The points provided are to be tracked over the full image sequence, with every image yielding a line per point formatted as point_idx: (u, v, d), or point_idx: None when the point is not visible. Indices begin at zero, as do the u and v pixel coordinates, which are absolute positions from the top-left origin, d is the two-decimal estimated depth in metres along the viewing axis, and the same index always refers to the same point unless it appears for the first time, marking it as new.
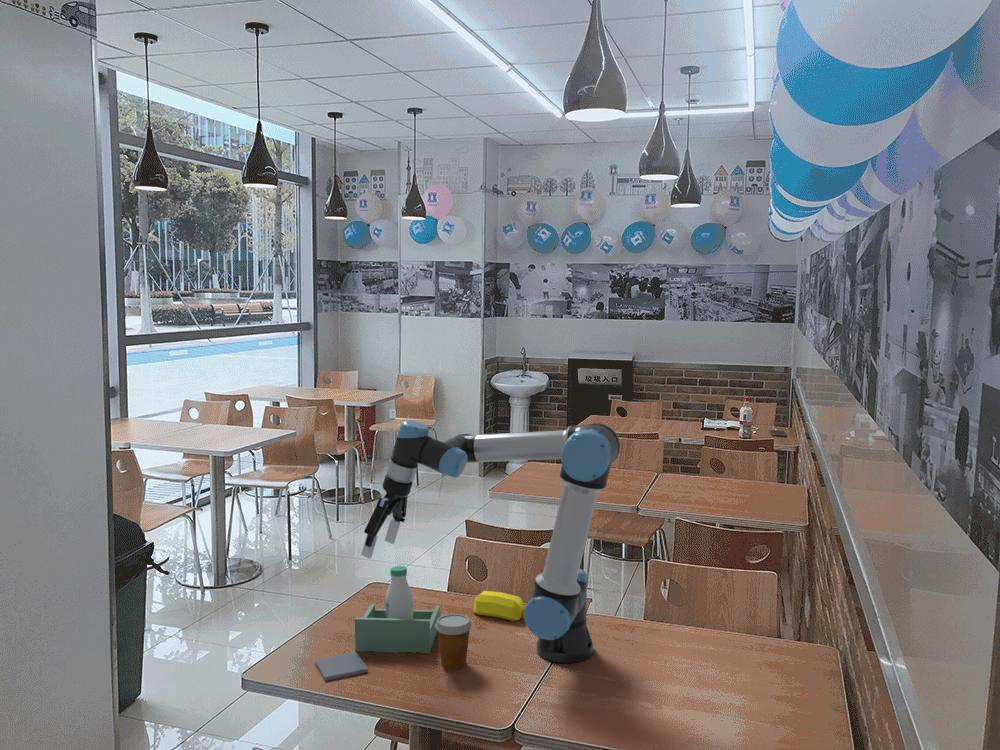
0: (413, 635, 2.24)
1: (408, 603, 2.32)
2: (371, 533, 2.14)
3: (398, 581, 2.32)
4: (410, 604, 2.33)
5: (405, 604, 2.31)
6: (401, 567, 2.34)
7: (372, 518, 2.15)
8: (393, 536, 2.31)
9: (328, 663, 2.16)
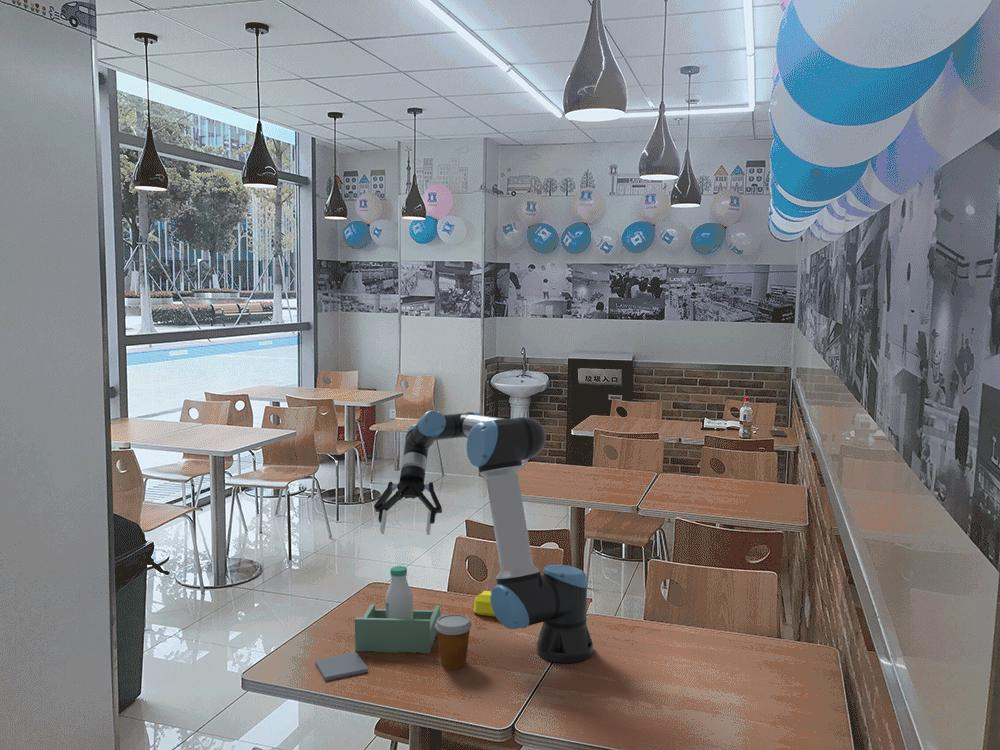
0: (413, 635, 2.24)
1: (408, 603, 2.32)
2: None
3: (398, 581, 2.32)
4: (410, 604, 2.33)
5: (405, 604, 2.31)
6: (401, 567, 2.34)
7: None
8: None
9: (328, 663, 2.16)
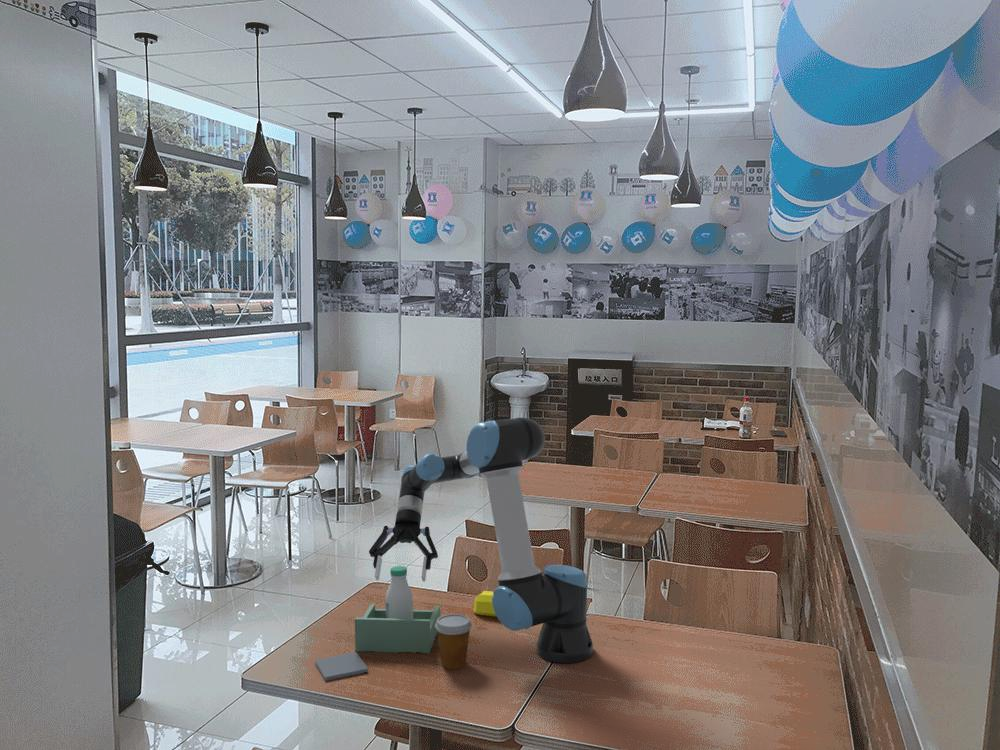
0: (413, 635, 2.24)
1: (408, 603, 2.32)
2: None
3: (398, 581, 2.32)
4: (410, 604, 2.33)
5: (405, 604, 2.31)
6: (401, 567, 2.34)
7: None
8: None
9: (328, 663, 2.16)
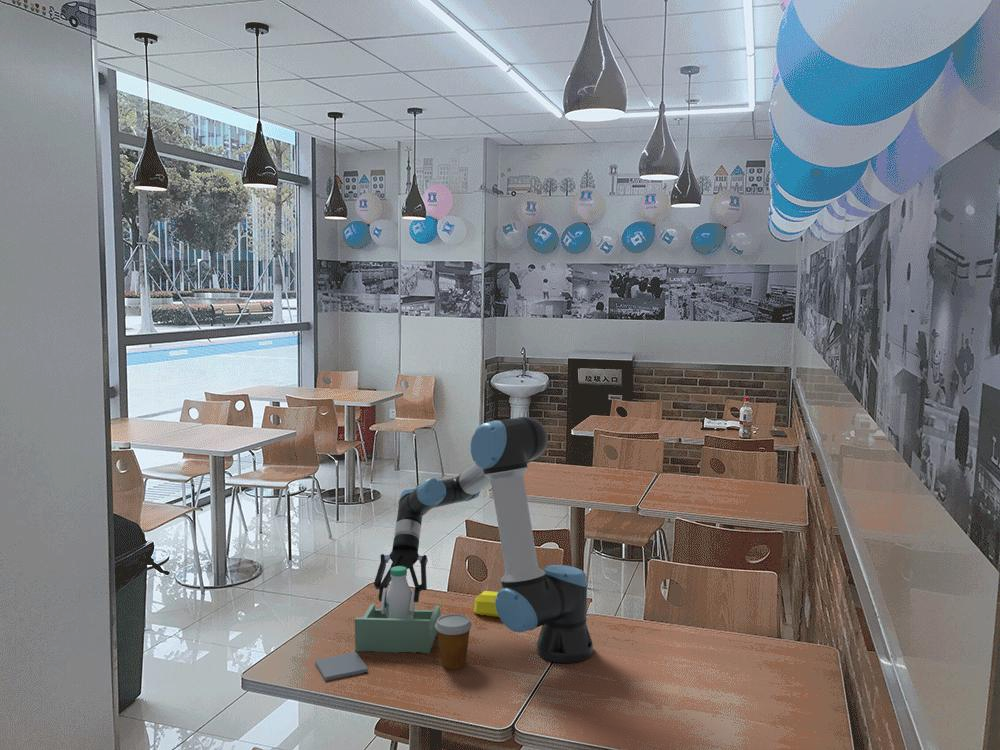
0: (413, 635, 2.24)
1: (408, 602, 2.32)
2: None
3: (398, 581, 2.32)
4: None
5: (405, 604, 2.31)
6: (401, 567, 2.34)
7: None
8: None
9: (328, 663, 2.16)
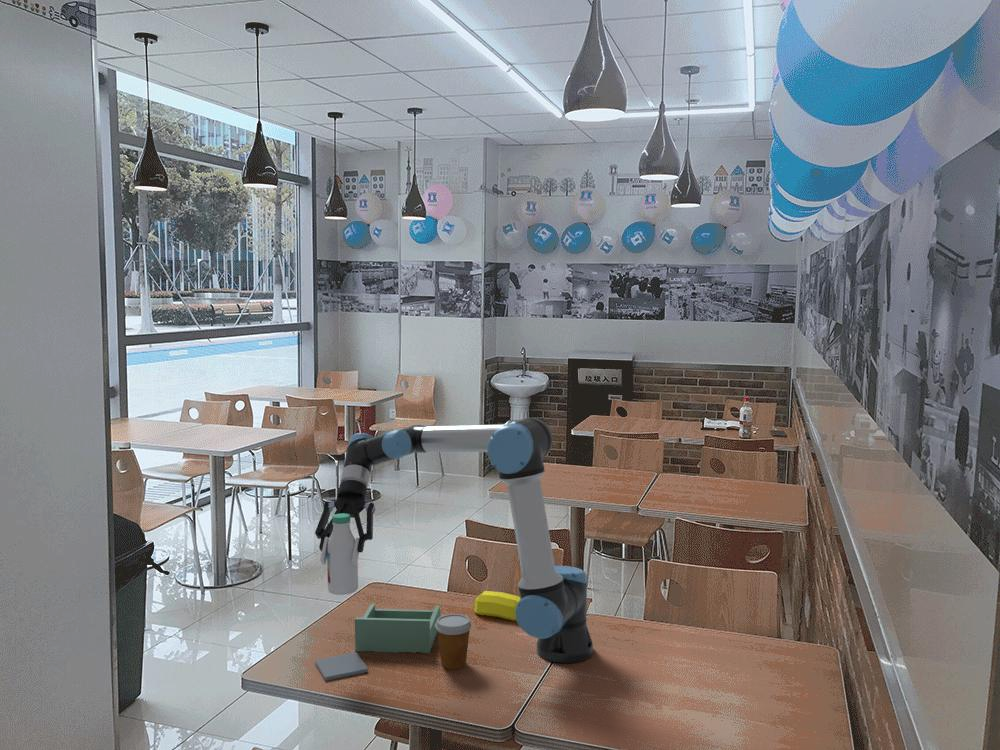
0: (413, 635, 2.24)
1: (351, 552, 2.13)
2: None
3: (340, 529, 2.12)
4: None
5: (348, 553, 2.12)
6: (344, 514, 2.15)
7: None
8: None
9: (328, 663, 2.16)
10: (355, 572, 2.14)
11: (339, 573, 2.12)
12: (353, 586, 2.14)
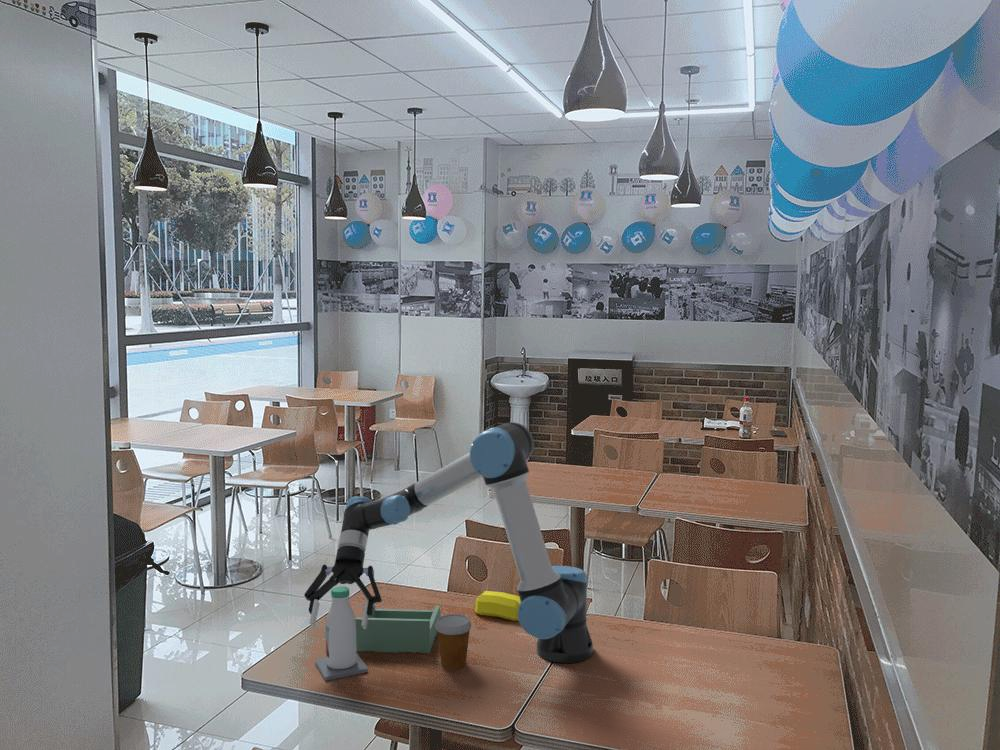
0: (413, 635, 2.24)
1: (350, 627, 2.12)
2: None
3: (339, 603, 2.12)
4: (352, 628, 2.13)
5: (347, 628, 2.12)
6: (343, 588, 2.15)
7: None
8: None
9: None
10: (354, 646, 2.14)
11: (338, 648, 2.12)
12: (352, 660, 2.14)
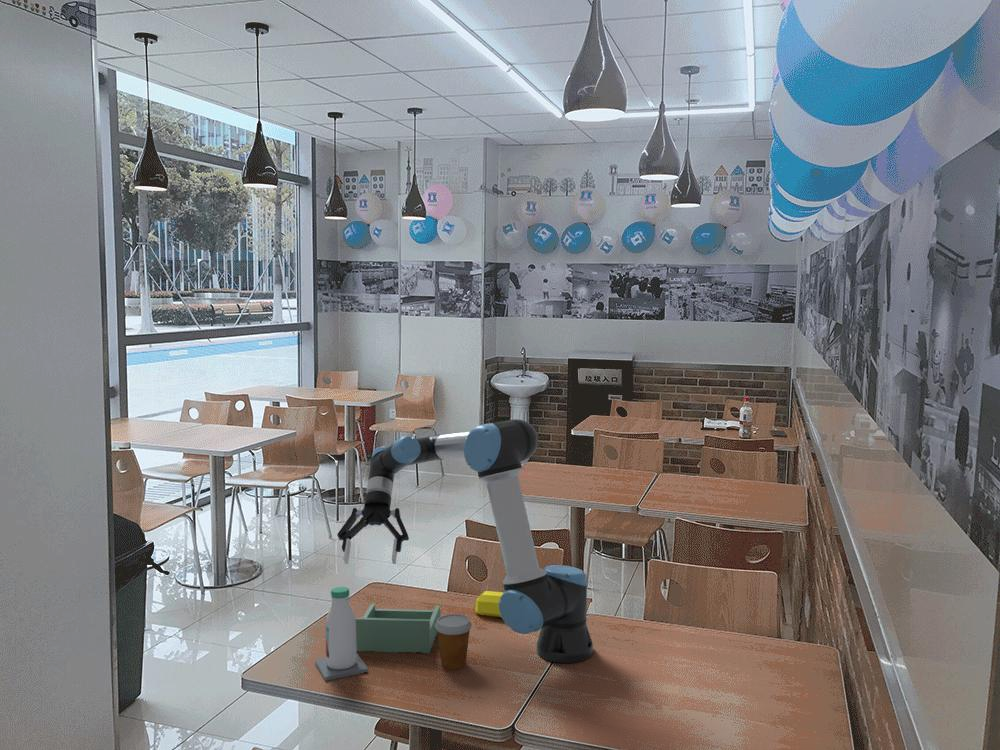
0: (413, 635, 2.24)
1: (350, 627, 2.12)
2: None
3: (339, 604, 2.12)
4: (352, 628, 2.13)
5: (347, 628, 2.12)
6: (343, 588, 2.15)
7: None
8: None
9: None
10: (354, 646, 2.14)
11: (338, 648, 2.11)
12: (352, 660, 2.14)
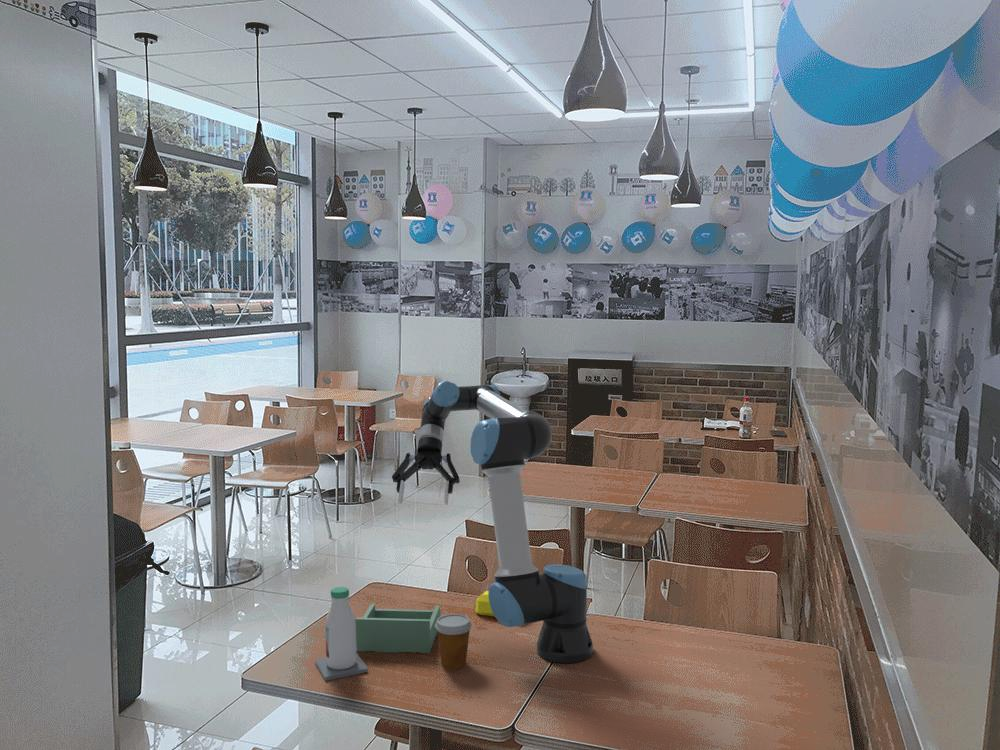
0: (413, 635, 2.24)
1: (349, 627, 2.12)
2: None
3: (339, 604, 2.12)
4: (352, 628, 2.13)
5: (347, 628, 2.12)
6: (343, 588, 2.15)
7: None
8: None
9: None
10: (354, 646, 2.14)
11: (338, 648, 2.11)
12: (352, 660, 2.14)
